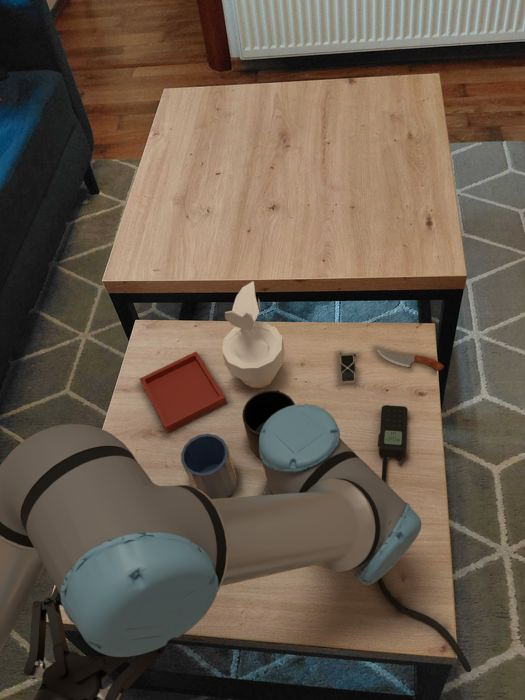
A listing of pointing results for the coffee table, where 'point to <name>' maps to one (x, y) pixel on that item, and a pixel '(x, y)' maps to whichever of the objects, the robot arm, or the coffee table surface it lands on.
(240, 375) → the potted plant
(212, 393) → the red tray
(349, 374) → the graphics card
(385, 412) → the walkie-talkie
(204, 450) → the blue cup
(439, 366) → the knife
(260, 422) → the mug
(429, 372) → the coffee table surface
